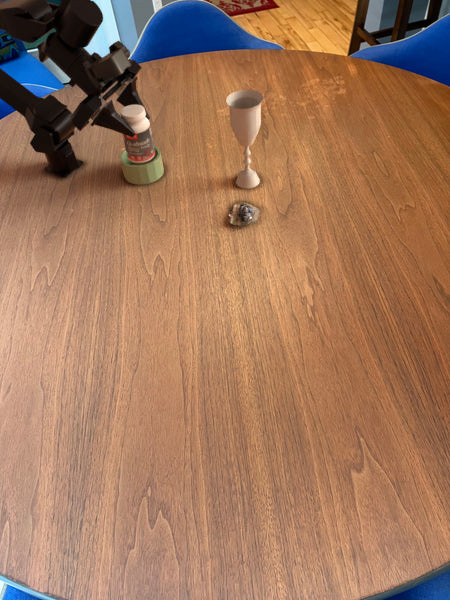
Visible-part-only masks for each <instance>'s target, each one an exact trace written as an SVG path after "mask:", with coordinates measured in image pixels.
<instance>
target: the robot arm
mask: <svg viewBox="0 0 450 600" xmlns="http://www.w3.org/2000/svg"><path fill="white" fill-rule="evenodd" d="M103 22H104V14H103V12H102V10H101V8H100V6H99V5H98V4H97V3H96V2H95V1H94V0H60V4H57V3H54V2H50V1H47V0H0V31H4V32H5V33H7V34H8V35H9V36H10V37H11V38H12V39H15V40H18V41H21V42H24V43H27V44H33V43H35V42H36V41H38V40H39V39H41V38H42V37H44V36H45V35H47V34H48V33H49V34H48V35H47V37H46V39H45V41H44V40H43V41H42V42H40V43H39V44H37V45H36V49H37V51H38V60H39V62H40V63H44V62H45V61H47V60H48V59H49V60H50V61H51V62H52V63H54V65H56V66H57V68H59V69H60V70H61V71H62V72H63V73H64V74H65V76H67V77H68V78H69V79H70V80H69V81H68V85H69V86H70V87H71V88H74V87H75V86H77V87H78V88H79V89H80V90H81V91H82V92H83V93H84V94H85V95H86V97H85V98H84V99H82V100H81V101H80V102H79V104H78V105H77V107H76V108H75V110H74V111H73V112H72V111H71V110H69V108H68V105H66V104H64V103H62V102H61V101H60V100H59V99H58V98H56V96H54V95H52V94H48V95H47V96H46V97H45V98H44V97H40V96H37V94H35V93H34V92H32V91H31V90H29V89H28V88H27V87H26V86H24V85H23V84H21V82H20V81H18V80H17V79H15V78H14V77H12V75H10V74H9V73H7V72H6V71H5V70H3V69H2V68H1V67H0V100H1V101H3V102H4V103H6V104H7V105H8V106H9V107H11V108H12V109H14V111H16V112H18V114H19V115H21V116H23V118H24V120H25V122H26V124H27V125H28V127H29V130H30V131H31V132H32V133H33V134H34V135H33V136H32V138H31V140H30V142H29V144H30V146H31V147H32V149H33V150H34V152H36V153H41V154H44V156H45V159H46V161H47V163H48V165H46V166H45V167H44V171H45V172H48V173H49V174H52V175H55V176H57V177H60V178H66V177H68V176H69V175H71V174H72V173H73V172H74V171H76V170H77V169H79V168H80V167H81V166H83V165H84V162H83V161H84V160H80V159H78V158H77V156H76V154H75V150H74V149H73V146H72V143H71V142H70V141H69V139H70V138H72V136H74V135H75V129H76V130H78V131H79V132H81V131H83V130H84V128H86V127H87V125H89V124H90V126H91V127H94V126H97V127H101V128H104V129H107V130H111V131H113V132H116V133H120V134H121V135H122V134H124V135H127V136H130V137H134V135H135V134H136V133H135V132H134V131H133V129H132V128H131V127H130V126H129V125H128V124H127V123H126V122H125V120H124V119H123V118H122V117H121V114H120V113H118V112H117V111H116V109H115V106H114V102H113V100H112V99H110V98H111V97H112V96H113V95H114V94H116V95H117V96H118V97H117V98H116V99H115V101H116V102H117V103H119V104H120V105H122V106H123V107H126V106H128V105H141V106H143V107H144V109H145V113H146V116H145V117H146V118H147V119H148V120H149V121H150V119H151V116H150V115H149V113H148V111H147V109H146V107H145V104H144V103H143V102H142V99H141V97H140V95H139V92H138V90H137V80H138V76H137V75H138V73H140V71H141V70H142V68H143V67H142V66H141V65H140V64H139V63H138V62H137V61H136V60H135V59H130V58H131V57H130V56H131V51H130V50H129V49H128V47H127V46H125V44H124V43H122V42H121V41H120V40H117V41H115V42H113V43H112V44H110V45H109V47H108V49H109V52H108V53H107V54H106V55H104V56H103V57H102V56H101V55H100V54H99V53H98V52H96V51H93V53H90V52H89V51H88V50H87V49H86V48H87V47H88V46H89V45H90V43H91V42H92V40H93V38H94V36H95V35H96V34H97V32H98V30H99V28H100V27H101V25H102V24H103ZM53 30H55V31H53ZM51 31H52V32H51ZM50 32H51V33H50ZM109 99H110V100H109ZM108 100H109V101H108ZM107 101H108V102H107ZM90 119H91V120H92V122H91V123H90Z"/></svg>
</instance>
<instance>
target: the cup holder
mask: <svg viewBox="0 0 450 600" xmlns="http://www.w3.org/2000/svg"><path fill="white" fill-rule="evenodd" d="M154 149H155V155H154V157H153V158H152V159H151V160H149V161H147V162H144V163H135V162H132V161H130V160H129V159H128V157H127V153H126V149H124V150H123V151H122V152H121V153H120V155H119V163H120V166H121V170H122V174H123V177H124V179H125V180H126V181H127V182H128V183H130V184H133V185H136V186H137V185H138V186H140V185H141V186H142V185H148V184H152V183H154V182H156V181H159V179H161V177H162V176H163V175H164V172H165V167H164V163H163V158H162V153H161V149H160V148H159V147H158V146H157V145H155V144H154Z"/></svg>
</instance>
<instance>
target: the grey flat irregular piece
mask: <svg viewBox="0 0 450 600" xmlns="http://www.w3.org/2000/svg"><path fill="white" fill-rule="evenodd" d="M230 213H231V214H228V216H229V217H228V219H227V222H228V223H229V224H231V225H233V226H237V225H238V227H243V226H248V225H249V224H252V225H254V224H256V223H258V220H259V218H260V213H261V212H260V209H259V207H256V206H255V205H252V204H250V203H247V202H238V203H235V204H234V205H233V206H232V211H230Z"/></svg>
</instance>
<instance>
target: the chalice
mask: <svg viewBox="0 0 450 600" xmlns="http://www.w3.org/2000/svg"><path fill="white" fill-rule="evenodd" d="M225 101H226V104H227V106H228V107H229V123H230V128H231V130H232V132H233V133H232V134H233V135H234V137H235V139H236V140H237V142H238V143H239V145H240V146H242V147H243V148H244V149H243V152H242V155H243V157H244V159H243V160H242V163H243V164H244V168H242V169H241V170H240V171H239V172H238V176H237V178H236V180H235V184H236V186H238V188H242V189H245V190H246V189H247V190H248V189H253V188H255V187H257V186H259V184H260V183H261V182H260V181H261V179H260V178H259V175H258V174H257V172H256V170H255V169H253V168H251V167H250V164H251V163H252V160H251V158H250V156H251V151H250V146H252V145H253V144H254V142H255V140H256V139H257V136H258V133H259V131H260V128H261V125H262V111H261V110H262V109H261V108H262V107H261V105H262V103H263V101H264V96H263V94H262V92H260V91H258V90H255V89H240V90H236V91H234V92H231V93H230V94H228V95H227V97H226V100H225Z"/></svg>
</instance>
